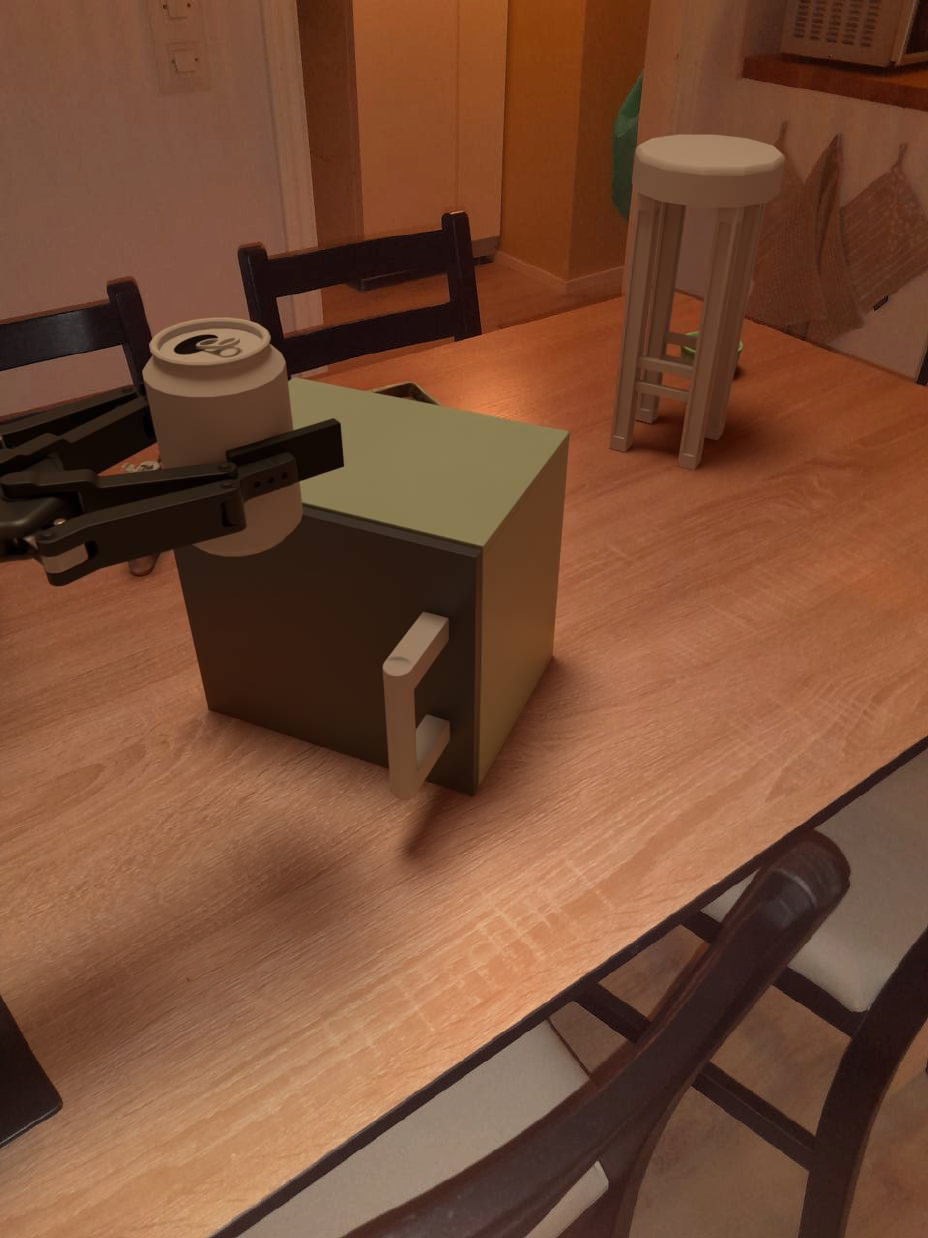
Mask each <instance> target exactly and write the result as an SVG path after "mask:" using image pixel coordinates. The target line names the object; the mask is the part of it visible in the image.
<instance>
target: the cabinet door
mask: <svg viewBox="0 0 928 1238" xmlns="http://www.w3.org/2000/svg"><path fill="white" fill-rule="evenodd" d="M302 507H303V513H302V517H301V522H300V523H299V524H298V525H297V526H296V528H295V529H294V530H293V531H292V532H291V533H290V534H288V535H287V536H286V537H285V538H284V540H283V541H282V542H280V543H278V544H277V545H275V546H274V547H272V548H270V549H268V550H265V551H262V552H260V553H257V554H251V555H245V556H220V555H215V554H210V553H208V552H206V551H204V550H202V549H199V548H198V547H196V546H194V545H188V546H185V547H181V548H177V549H173V550H172V552H173V555H174V560H175V565H176V569H177V573H178V578H179V584H180V586H181V591H182V596H183V600H184V605H185V609H186V615H187V618H188V623H189V627H190V632H191V633H190V634H191V636H192V642H193V646H194V651H195V655H196V661H197V664H198V668H199V673H200V677H201V683H202V687H203V692H204V696H205V700H206V701H205V702H206V705H207V709H209V710H211V711H215V712H218V713H220V714H224V715H227V716H229V717H233V718H237V719H239V720H241V721H245V722H247V723H250V724H254V725H256V726H260V727H262V728H265V729H269V730H272V731H275V732H278V733H280V734H284V735H287V736H290V737H293V738H296V739H299V740H302V741H305V742H308V743H311V744H314V745H317V746H319V747H323V748H326V749H330V750H332V751H335V752H339V753H340V754H345V755H347V756H350V757H354V758H356V759H360V760H363V761H365V762H368V763H371V764H374V765H377V766H381V767H383V768H387V769H388V770H389V784H390V786H389V787H390V793H391V794H392V796H393V797H395V798H396V799H398V800H409V799H412V798H414V797H415V796H416V795H417V793H418V792H419V790H420V788H421V787H422V785H423V783H424V782H429V783H432V784H434V785H437V786H440V787H444V788H447V789H449V790H453V791H456V792H458V793H462V794H464V795H468V796H470V797H474V796H475V795H476V792H477V790H478V789H479V786H478V755H479V695H480V635H481V575H482V550H480V549H476V548H472V547H468V546H463V545H459V544H455V543H451V542H447V541H443V540H439V539H435V538H431V537H427V536H422V535H418V534H414V533H410V532H406V531H402V530H398V529H394V528H390V527H386V526H382V525H377V524H373V523H369V522H365V521H361V520H357V519H353V518H349V517H345V516H341V515H337V514H332V513H328V512H324V511H320V510H316V509H312V508H308V507H304V506H302Z"/></svg>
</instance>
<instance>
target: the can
mask: <svg viewBox="0 0 928 1238" xmlns="http://www.w3.org/2000/svg"><path fill="white" fill-rule="evenodd" d="M271 339H272V338H271V334H270V332H269V330H268V329H266V328H265V327H264V326H262V325H261V324H259V323H258V322H254V321H251V320H248V319H244V318H236V317H204V318H197V319H190V320H186V321H183V322H178V323H176V324H174V325H171V326H168V327H166V328H163V329H162V330H161V331H159V332H158V333H156V334H154V336H153V337H152V339H151V340H150V342H149V345H148V347H149V350H150V354H151V357H150V358H149V360H148V361H147V362H146V364H145V366H144V367H143V369H142V377H143V382H144V383H145V387H146V392H147V397H148V401H149V406H150V411H151V415H152V420H153V425H154V429H155V434H156V439H157V443H156V444H157V447H158V454H159V455H160V457H161V462H160V463H161V467H162V469H167V468H175V467H184V466H193V465H201V464H210V463H218V462H227V459H226V453H225V451H227V450H231V449H234V448H237V447H241V446H245V445H248V444H251V443H255V442H258V441H261V440H264V439H267V438H270V437H273V436H277V435H280V434H283V433H286V432H290V431H293V421H292V413H291V404H290V395H289V387H288V381H289V380H288V379H289V378H288V370H287V362H286V360H285V357H284V355H283V353H282V352H281V351H279V350H278V349H277V348H276V347H274V346H273V345H272V344H271V341H272V340H271ZM214 483H215V482H214ZM244 510H245V516H246V524H247V527H246V529H244V530H243V531H240V532H238V533H234V534H230V535H226V536H222V537H219V538H215V539H211V540H207V541H204V542H200V543H196V544H192V545H194V546H196V547H198V548H199V549H202V550H204V551H206V552H208V553H210V554H215V555H220V556H245V555H251V554H257V553H260V552H262V551H265V550H268V549H270V548H272V547H274V546H275V545H277V544H278V543H280V542H282V541H283V540H284V538H285V537H286V536H287V535H288V534H290V533H291V532H292V531H293V530H294V529H295V528H296V526H297V525H298V524H299V523H300V522H301V517H302V513H303V507H302V499H301V490H300V482H297V483H294V484H293V485H291V486H288V487H285V488H281V489H279V490H274V491H273V492H270V493H267V494H264V495H261V496H258V497H255V498H252V499H250V500H248V501H246V502H245V504H244Z"/></svg>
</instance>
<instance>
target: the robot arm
mask: <svg viewBox="0 0 928 1238" xmlns="http://www.w3.org/2000/svg"><path fill="white" fill-rule="evenodd" d="M139 388H140V392H141V395H140V393H139ZM139 388H138V386H135V385H130V384H129V385H128V384H127V385H124V386H121V387H118V388H114V389H111V390H108V391H105V392H103V393H98V394H96V395H93V396H90V397H87V398H83V399H81V400H78V401H77V400H76V401H75V402H72V403H69V404H68V403H67V404H65V405H63V406H59V407H56V408H53V409H50V410H46V411H44V412H41V413H38V414H35V415H32V416H29V417H26V418H23V419H19V420H17V421H16V420H15V421H13V422H11V423H6V424H1V425H0V564H4V563H11V562H22V561H30V560H35V562H37V563H39V564H40V565H42V566H43V569H44V572H45V576H46V578H47V581H48V583H49V585H50V586H53V587H65V586H68V585H70V584H72V583H74V582H76V581H78V580H81V579H82V578H85V577H87V576H88V575H90V574H92V573H94V572H96V571H99V570H101V569H105V568H109V567H112V566H116V565H120V564H124V563H128V561H132V560H135V559H139V558H143V557H147V556H151V555H154V554H158V553H160V554H162V553H165V552H170V551H173V549H177V548H181V547H185V546H188V545H192V544H196V543H200V542H204V541H207V540H211V539H215V538H219V537H222V536H226V535H230V534H234V533H238V532H240V531H243V530H244V529H246V527H247V524H246V516H245V510H244V504H245V502H246V501H248V500H250V499H252V498H255V497H258V496H261V495H264V494H267V493H270V492H273V491H274V490H279V489H281V488H285V487H288V486H291V485H293V484H294V483H297V482H300V481H303V480H306V479H309V478H312V477H315V476H318V475H321V474H324V473H327V472H330V471H333V470H336V469H339V468H342V467H344V456H343V444H342V432H341V423H340V422H339V421H337V420H336V419H335V418H332V419H329V420H326V421H322V422H319V423H316V424H312V425H309V426H306V427H303V428H299V429H296V430H293V431H290V432H286V433H283V434H280V435H277V436H273V437H270V438H267V439H264V440H261V441H258V442H255V443H251V444H248V445H245V446H241V447H237V448H234V449H231V450H227V451H225V453H226V459H227V462H218V463H210V464H201V465H193V466H184V467H175V468H167V469H163V468H162V469H158V470H150V471H141V472H133V473H127V472H126V473H118V474H109V475H108V474H107V475H99V474H101V473H103V472H105V471H107V470H109V469H111V468H112V467H114V466H116V465H118V464H120V463H122V462H124V461H125V460H127V459H129V458H131V457H133V456H135V455H136V454H138V453H140V452H142V451H144V450H146V449H148V448H150V447H151V446H153V445H156V444H158V443H157V439H156V434H155V429H154V425H153V420H152V415H151V411H150V406H149V401H148V397H147V392H146V387H145V383H144V381H142V382H140V383H139ZM214 482H215V483H214Z"/></svg>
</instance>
